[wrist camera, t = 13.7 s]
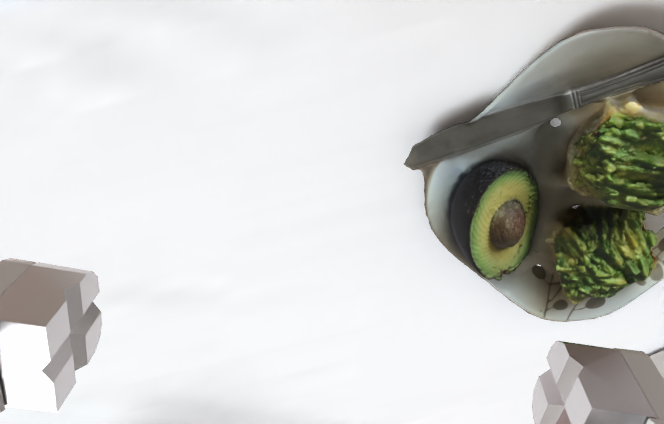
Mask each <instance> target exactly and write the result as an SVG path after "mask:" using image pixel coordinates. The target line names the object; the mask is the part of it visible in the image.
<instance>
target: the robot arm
mask: <svg viewBox="0 0 664 424" xmlns="http://www.w3.org/2000/svg"><path fill="white" fill-rule="evenodd" d="M98 293H99V284H98V276H97V275H96V274H95V273H94V272H92V271H86V270H80V269H74V268H68V267H62V266H56V265H50V264H45V263H36V262H31V261H25V260H19V259H12V258H9V259H5V260H2V261H1V262H0V412H2V411H3V410H5V406H6V407H15V408H23V409H32V410H40V411H48V412H58V410H59V408H60V407H61V405H62V404H63V402H64V401H65V399H66V397H67V396H68V394H69V393H70V391H71V390H72V388H73V386H74V385H75V383H76V379H75V370H77V369H79V368H81V367H83V366H85V365H87V364H88V363H89V361H90V359H91V357H92V356H93V354H94V352H95V350H96V347H97V344H98V341H99V338H100V334H101V325H102V320H101V311H100V310H99V309H98V308H97V306H96V305H95V304H94V303H93V300H94V299H95V297H96V296H97V294H98ZM547 360H548V363H549V366H550V370H548V371H547V372H545V373H544V374H542V375H541V376H539V378H538V380H537V383H536V386H535V389H534V393H533V403H532V409H533V418H534V422H535V424H664V350H663V351H660V352H658V353H655V354H653V355H651V356H648V355H647V354H646V353H644V352H642V351H634V350H625V349H617V348H614V349H610V348H603V347H596V346H589V345H582V344H575V343H568V342H561V341H556V342H555V343H554V344H553V346H552V347H551V349H550V351H549V353H548V356H547Z"/></svg>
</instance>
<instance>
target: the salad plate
mask: <svg viewBox="0 0 664 424" xmlns="http://www.w3.org/2000/svg"><path fill="white" fill-rule="evenodd" d="M553 118H558V119H559V120H561V125H560V126H558V127H552V126H551V125H550V120H551V119H553ZM404 165H406V166H407V167H409V168H411V169H412V170H416V169H419V170H421V171H422V172H423V175H424V182H425V189H424V192H425V204H424V205H425V209H426V215H427V217H428V219H429V224H430V226H431V229H432V230H433V232H434V233H435V235H436V236H437V238H438V239H439V241H440V242H441V243H442V244H443V245H444V246H445V247H446V248H447V249H448V251H449V252H451V253H452V254H453V255H454V256H455V257H456V258H457V259H459V260H460V261H461V262H462V263H464V264H465V265H466V266H468V267H469V268H470V269H471V270H473V271H474V272H475V273H477V274H478V275H479V276H480V277H481V278H483V279H485V280H486V281H487V282H489V283H490V284H491V285H492V286H493V287H494V288H495V289H496V290H498V291H499V292H501V293H502V294H503V295H505V296H506V297H507V298H508V299H509V300H510V301H512V302H513V303H515V304H516V305H518V306H519V307H521V308H522V309H523V310H525V311H526V312H527V313H529V314H532V315H535V316H537V317H539V318H542V319H546V320H551V321H563V322H567V321H579V320H586V319H595V318H598V317H601V316H604V315H608V314H610V313H612V312H614V311H616V310H618V309H620V308H622V307H623V306H625V305H627V304H628V303H630V302H631V301H633V300H634V299H636V298H637V297H638V296H640V295H641V294H643V293H644V292H646V291H647V290H648V289H650V288H651V287H652V286H654V285H655V284H656V283H658V282H659V281H661V280H662V279H663V278H664V227H663V228H662V229H661V230H660V231H659V232H658V233H657V234H655V233H654V232H653V231H650V230H646V228H645V225H644V222H643V220H644V219H645V214H644V212H646V213H649V214H653V215H660V214H661V212H662V211H663V210H664V33H661V32H659V31H657V30H654V29H650V28H648V27H642V26H636V27H630V26H622V27H607V28H599V29H588V30H582V31H580V32H578V33H577V34H575V35H574V36H572V37H569V38H567V39H565V40H562V41H560V42H559V43H557V44H556V45H555V46H553V47H552V48H550V49H549V50H548V51H546V52H545V53H544V54H543V55H541V56H540V57H539V58H538V59H536V60H535V61H534V62H532V63H531V64H530V65H529V66H528V67H526V68H525V69H524V70H523V71H522V72H520V73H519V74H518V75H517V77H516V78H515V79H514V80H513V81H512V82H511V83H510V84H509V86H508V87H507V88H505V89H504V90H503V91H502V92H501V93H500V94H499V95H498V96H497V97H496V98H495V99H494V100H493V102H492V103H490V104H489V105H488V106H487V107H486V108H485V109H484V110H483V111H482V112H481V113H480V114H479V115H478V116H476V117H475V118H473V119H472V120H470V121H468V122H466V123H461V124H457V125H455V126H452V127H449V128H447V129H444V130H442V131H440V132H438V133H436V134H434V135H432V136H430V137H428V138H427V139H425V140H423V141H421V142H420V143H418V144H416V145H414V146H413V147H412V150H411V152H410V154H409V157H408V158H407V159H406V161H405V163H404ZM576 205H580V206H579V207H578V208H576V209H572V207H573V206H576ZM642 211H644V212H642ZM537 264H539V265H541V266H537Z"/></svg>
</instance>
